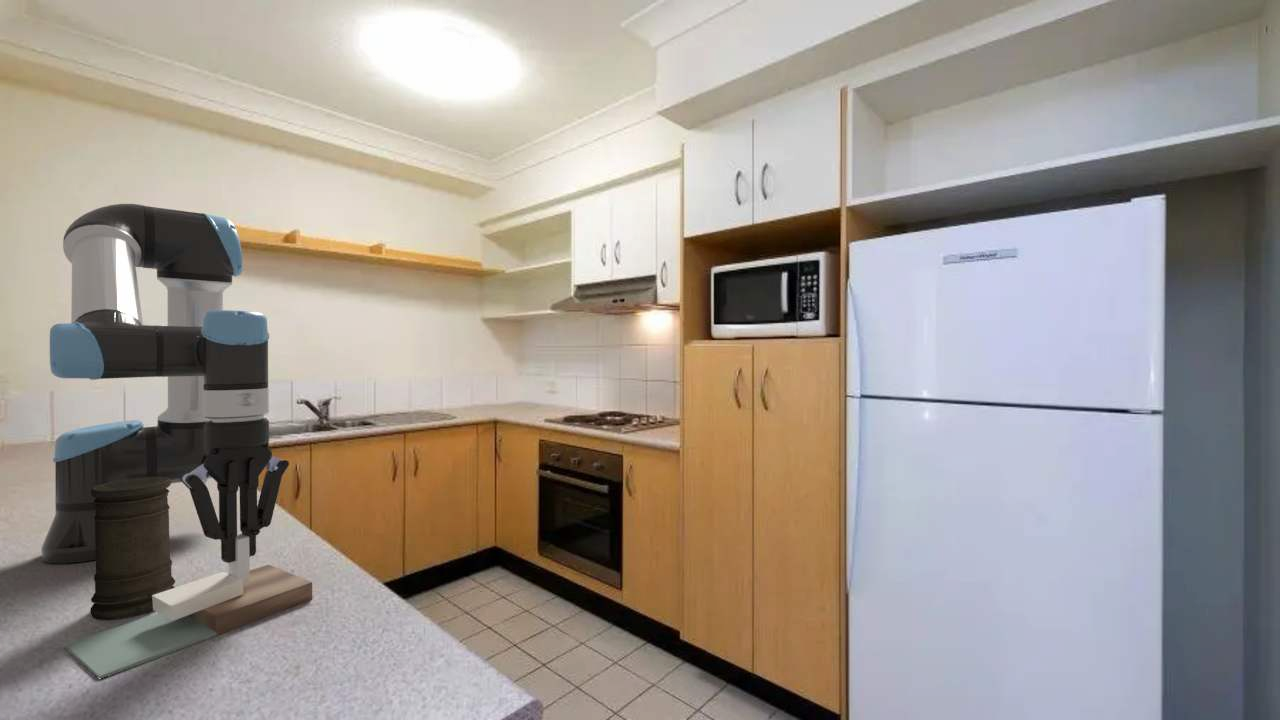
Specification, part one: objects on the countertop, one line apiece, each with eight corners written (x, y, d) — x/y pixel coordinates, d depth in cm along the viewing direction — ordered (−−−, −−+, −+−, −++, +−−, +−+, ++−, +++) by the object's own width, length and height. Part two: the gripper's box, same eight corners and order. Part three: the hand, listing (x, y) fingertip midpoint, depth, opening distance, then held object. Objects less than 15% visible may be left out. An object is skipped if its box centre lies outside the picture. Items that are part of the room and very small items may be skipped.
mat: (64, 647, 67) (64, 644, 67) (175, 610, 76) (175, 607, 76) (99, 679, 60) (99, 676, 60) (216, 635, 70) (216, 632, 70)
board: (175, 610, 76) (174, 593, 76) (268, 580, 87) (268, 564, 87) (216, 635, 70) (216, 616, 70) (312, 598, 80) (312, 582, 80)
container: (190, 596, 81) (188, 477, 80) (115, 625, 72) (113, 492, 72) (151, 588, 84) (149, 473, 83) (75, 615, 75) (73, 487, 75)
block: (153, 610, 72) (152, 595, 72) (223, 584, 78) (222, 571, 78) (172, 621, 69) (171, 606, 68) (243, 594, 75) (242, 580, 75)
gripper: (193, 425, 70) (195, 606, 70) (299, 415, 81) (300, 570, 81) (169, 421, 73) (171, 593, 74) (273, 412, 85) (275, 561, 85)
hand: (239, 581), depth 77 cm, fingers closed
